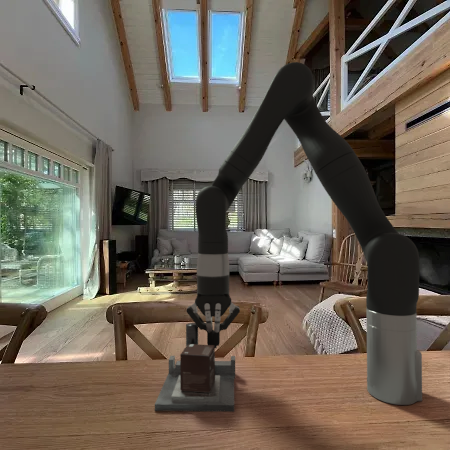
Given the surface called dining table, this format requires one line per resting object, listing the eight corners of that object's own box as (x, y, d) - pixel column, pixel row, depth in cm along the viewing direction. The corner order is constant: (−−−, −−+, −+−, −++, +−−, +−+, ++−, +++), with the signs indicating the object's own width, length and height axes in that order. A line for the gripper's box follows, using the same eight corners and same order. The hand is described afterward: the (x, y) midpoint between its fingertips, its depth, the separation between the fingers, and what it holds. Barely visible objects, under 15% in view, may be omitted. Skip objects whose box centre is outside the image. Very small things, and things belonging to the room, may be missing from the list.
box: (209, 393, 63) (209, 356, 63) (179, 391, 64) (179, 354, 64) (215, 379, 69) (215, 344, 69) (188, 377, 70) (188, 343, 70)
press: (235, 373, 76) (235, 355, 76) (235, 411, 60) (235, 389, 60) (170, 372, 77) (170, 355, 77) (154, 410, 61) (154, 388, 61)
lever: (199, 358, 77) (199, 322, 77) (197, 364, 74) (197, 326, 74) (186, 358, 77) (186, 322, 77) (184, 364, 74) (184, 326, 74)
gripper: (241, 270, 79) (241, 341, 79) (187, 270, 79) (187, 341, 79) (241, 275, 71) (242, 353, 71) (182, 275, 72) (182, 353, 72)
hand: (213, 347), depth 75 cm, fingers closed
